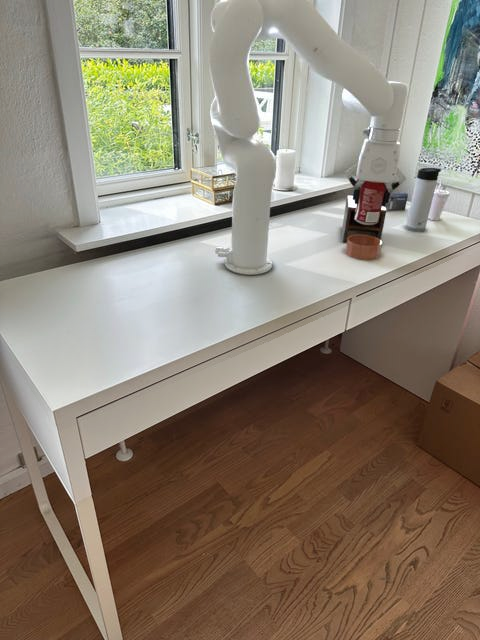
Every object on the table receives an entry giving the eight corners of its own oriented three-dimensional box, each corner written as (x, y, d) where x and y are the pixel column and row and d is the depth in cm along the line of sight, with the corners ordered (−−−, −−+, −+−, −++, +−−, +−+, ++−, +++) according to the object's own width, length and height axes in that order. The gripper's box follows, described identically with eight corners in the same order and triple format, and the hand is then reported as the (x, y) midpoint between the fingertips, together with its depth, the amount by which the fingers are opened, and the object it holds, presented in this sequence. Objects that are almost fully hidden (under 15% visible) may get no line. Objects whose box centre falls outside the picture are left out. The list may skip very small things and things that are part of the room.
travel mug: (422, 233, 154) (437, 171, 143) (402, 228, 157) (416, 167, 147) (428, 228, 158) (443, 167, 148) (409, 224, 161) (423, 164, 151)
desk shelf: (342, 242, 144) (348, 207, 138) (342, 228, 155) (347, 195, 149) (379, 245, 143) (386, 210, 137) (376, 231, 154) (382, 198, 148)
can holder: (346, 257, 133) (348, 244, 131) (345, 245, 142) (347, 233, 140) (380, 261, 132) (383, 247, 130) (377, 248, 140) (380, 236, 138)
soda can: (380, 226, 129) (390, 182, 123) (356, 225, 129) (364, 181, 123) (375, 219, 135) (383, 176, 129) (351, 217, 135) (359, 175, 129)
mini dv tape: (384, 210, 174) (388, 194, 171) (382, 209, 175) (386, 193, 172) (404, 210, 175) (408, 194, 172) (402, 208, 177) (406, 192, 174)
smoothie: (422, 215, 171) (431, 176, 163) (440, 216, 170) (450, 177, 163) (426, 220, 165) (435, 180, 158) (444, 222, 164) (455, 182, 157)
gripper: (349, 134, 118) (337, 204, 127) (420, 140, 116) (403, 211, 125) (348, 130, 125) (337, 197, 134) (415, 136, 123) (400, 203, 132)
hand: (369, 203), depth 129 cm, fingers closed on soda can, 6 cm apart
